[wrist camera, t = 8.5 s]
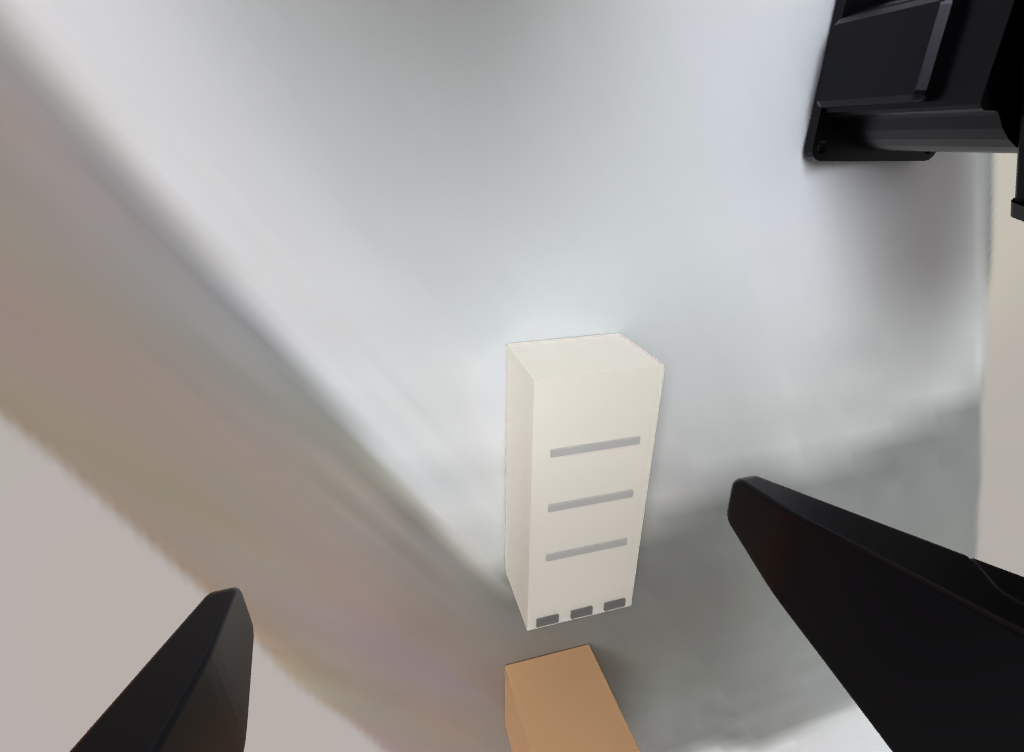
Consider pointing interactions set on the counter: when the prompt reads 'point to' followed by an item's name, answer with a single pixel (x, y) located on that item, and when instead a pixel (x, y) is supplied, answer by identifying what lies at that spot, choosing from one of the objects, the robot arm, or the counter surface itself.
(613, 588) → the white slotted tower
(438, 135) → the counter surface
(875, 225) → the counter surface
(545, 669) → the light brown cardboard box
